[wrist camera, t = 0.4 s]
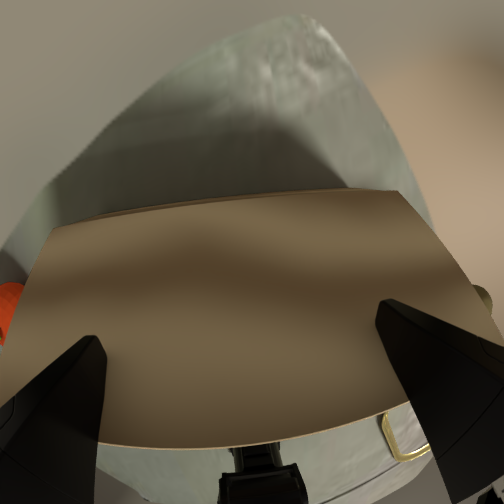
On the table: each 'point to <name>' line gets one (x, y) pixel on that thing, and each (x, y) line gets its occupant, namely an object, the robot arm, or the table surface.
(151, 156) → the table surface
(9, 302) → the clementine
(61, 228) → the carton flap
